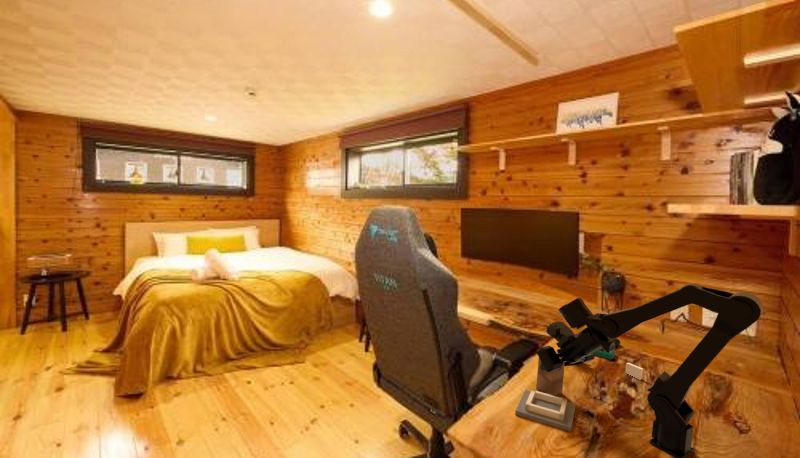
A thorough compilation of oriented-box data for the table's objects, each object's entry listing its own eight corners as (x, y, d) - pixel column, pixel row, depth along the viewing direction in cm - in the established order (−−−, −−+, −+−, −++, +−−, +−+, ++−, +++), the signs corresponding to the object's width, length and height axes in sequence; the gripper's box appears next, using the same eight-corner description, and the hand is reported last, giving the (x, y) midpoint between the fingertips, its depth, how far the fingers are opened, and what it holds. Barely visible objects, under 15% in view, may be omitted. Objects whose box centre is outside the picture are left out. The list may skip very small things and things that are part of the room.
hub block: (562, 393, 109) (565, 359, 108) (550, 396, 107) (553, 362, 106) (547, 385, 113) (550, 352, 113) (536, 388, 111) (538, 355, 110)
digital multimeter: (613, 361, 136) (613, 353, 136) (568, 350, 144) (569, 343, 144) (615, 355, 142) (615, 347, 142) (572, 345, 150) (572, 338, 150)
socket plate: (575, 407, 101) (576, 398, 101) (570, 431, 90) (571, 421, 90) (525, 393, 108) (525, 384, 108) (515, 414, 96) (515, 404, 96)
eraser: (627, 373, 126) (628, 362, 125) (642, 379, 121) (643, 368, 121) (625, 373, 125) (626, 363, 125) (639, 380, 121) (640, 369, 120)
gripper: (588, 312, 110) (553, 337, 120) (545, 319, 100) (510, 345, 111) (612, 348, 103) (573, 371, 114) (568, 359, 94) (530, 383, 104)
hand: (546, 366), depth 111 cm, fingers closed on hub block, 5 cm apart
